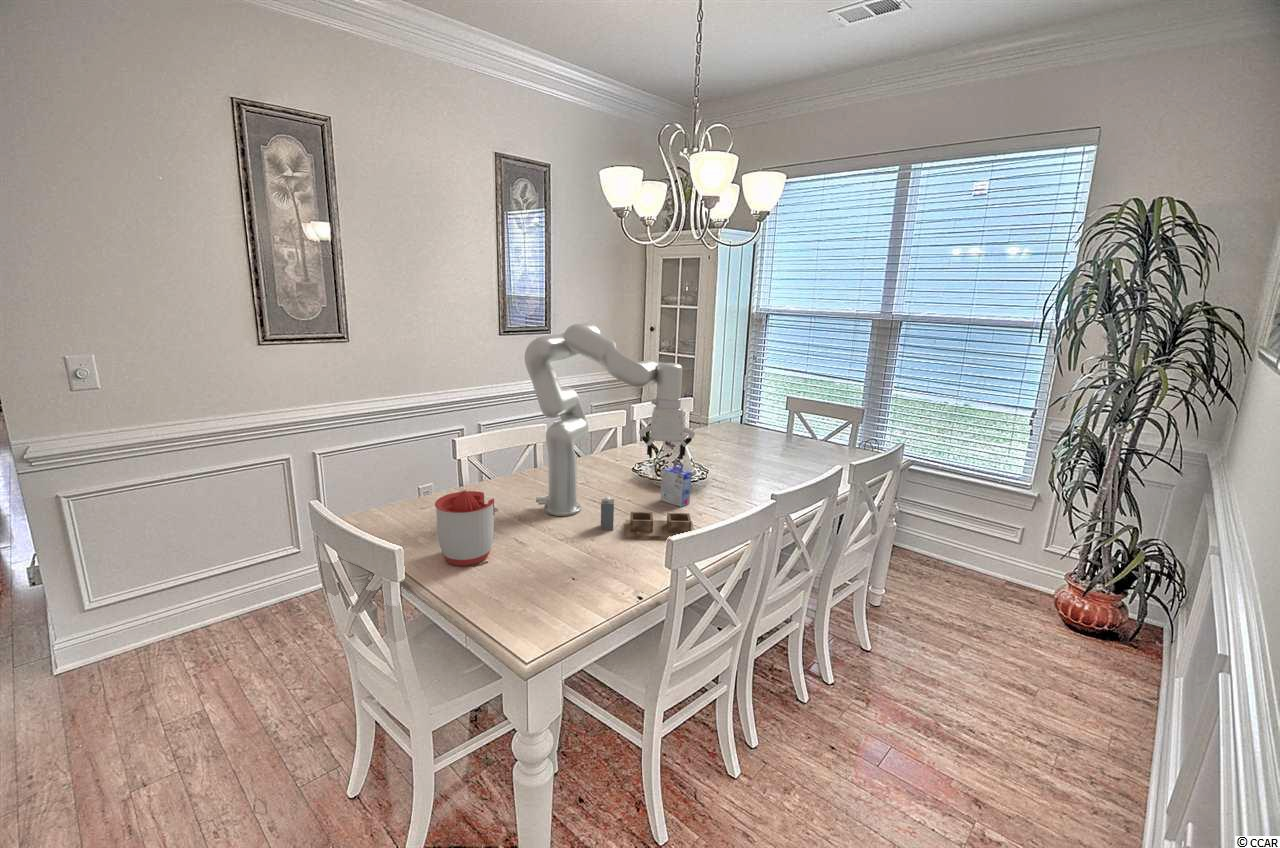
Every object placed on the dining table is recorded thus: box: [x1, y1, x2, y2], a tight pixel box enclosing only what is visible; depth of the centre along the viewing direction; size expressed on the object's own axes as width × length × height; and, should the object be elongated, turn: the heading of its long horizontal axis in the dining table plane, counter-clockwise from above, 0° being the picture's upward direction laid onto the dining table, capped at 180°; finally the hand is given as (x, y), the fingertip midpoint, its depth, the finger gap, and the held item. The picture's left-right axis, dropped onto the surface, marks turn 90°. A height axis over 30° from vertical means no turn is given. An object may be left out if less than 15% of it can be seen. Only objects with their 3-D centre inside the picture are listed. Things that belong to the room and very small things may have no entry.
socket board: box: [625, 511, 695, 541], centre depth 179 cm, size 22×12×5 cm, turn 91°
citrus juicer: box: [434, 490, 500, 567], centre depth 157 cm, size 16×17×20 cm
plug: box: [600, 496, 615, 531], centre depth 180 cm, size 4×4×10 cm
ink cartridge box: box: [660, 462, 692, 507], centre depth 204 cm, size 10×6×14 cm, turn 51°
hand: (665, 457), depth 175 cm, fingers open, 9 cm apart
